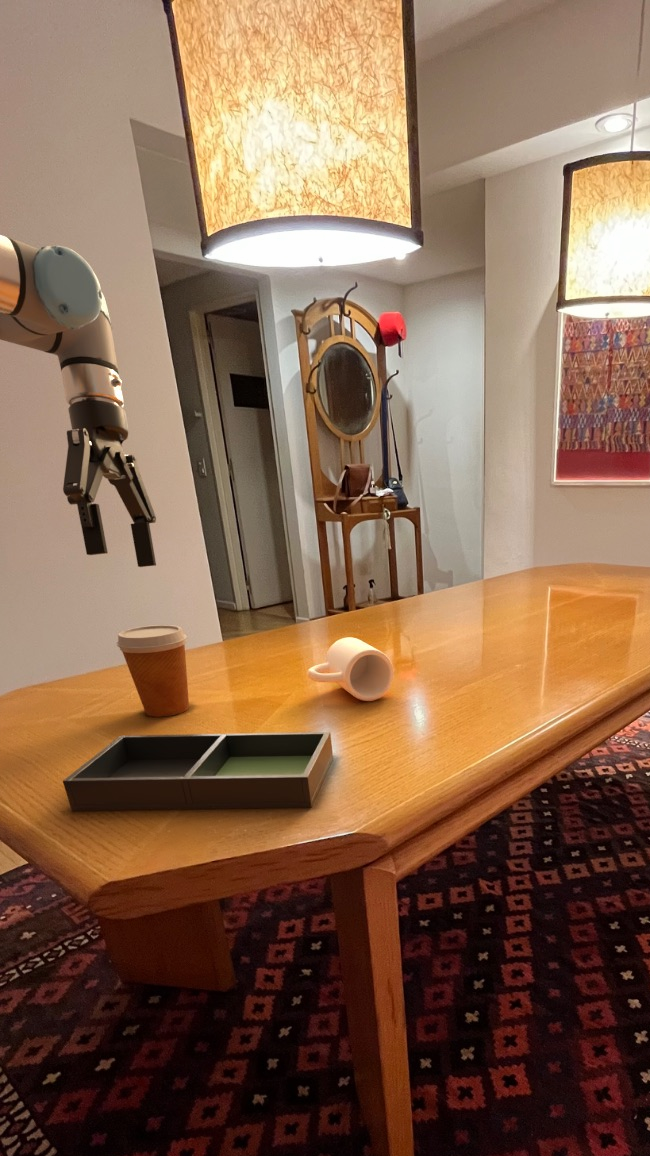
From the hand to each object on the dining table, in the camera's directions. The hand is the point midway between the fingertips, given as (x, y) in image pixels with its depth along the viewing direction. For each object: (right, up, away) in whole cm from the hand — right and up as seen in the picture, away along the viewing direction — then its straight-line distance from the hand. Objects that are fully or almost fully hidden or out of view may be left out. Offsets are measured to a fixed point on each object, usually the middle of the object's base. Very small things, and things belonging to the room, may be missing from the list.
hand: (123, 560), depth 102 cm
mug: (+33, -20, +5) cm, 39 cm away
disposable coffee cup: (+6, -23, +1) cm, 24 cm away
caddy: (+22, -34, -24) cm, 47 cm away
